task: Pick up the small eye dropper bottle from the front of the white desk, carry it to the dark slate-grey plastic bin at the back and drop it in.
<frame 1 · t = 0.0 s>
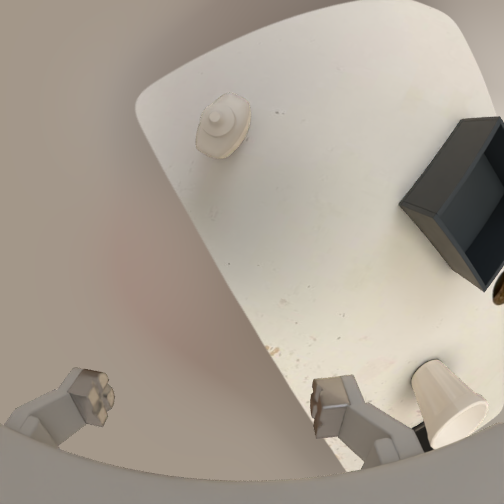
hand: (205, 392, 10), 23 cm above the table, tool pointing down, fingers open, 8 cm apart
bin: (461, 195, 30), on the table
cup: (426, 372, 39), on the table
eye dropper bottle: (229, 132, 29), on the table
phone: (428, 434, 45), on the table
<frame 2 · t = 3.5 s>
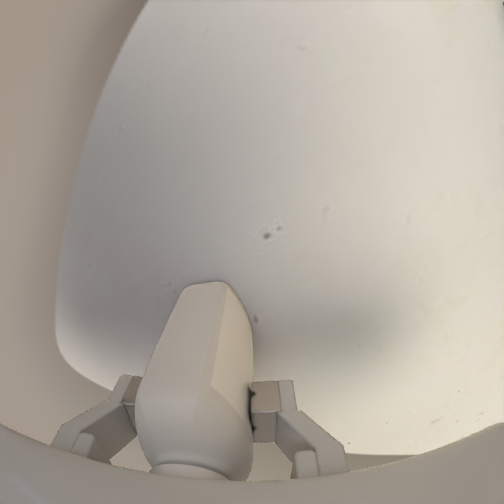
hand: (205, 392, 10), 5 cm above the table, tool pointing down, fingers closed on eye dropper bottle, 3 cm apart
eye dropper bottle: (218, 327, 15), on the table, touching gripper
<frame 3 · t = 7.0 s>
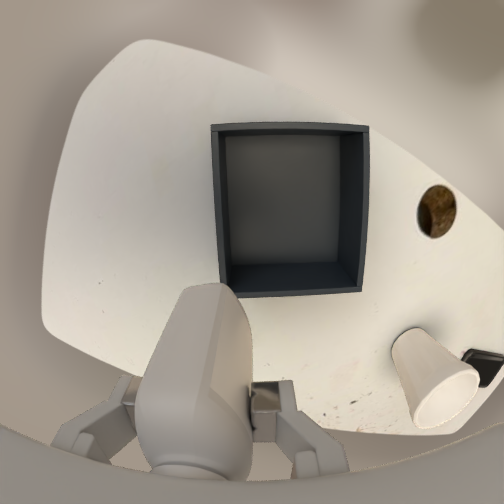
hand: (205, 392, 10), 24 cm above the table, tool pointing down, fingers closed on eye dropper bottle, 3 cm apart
bin: (284, 200, 32), on the table
cup: (408, 343, 38), on the table
eye dropper bottle: (217, 328, 15), point 19 cm above the table, touching gripper
phone: (477, 368, 41), on the table
when the fingers open (12 cm above the table, at t = 10.4 s): eye dropper bottle drops 7 cm, resting on bin.
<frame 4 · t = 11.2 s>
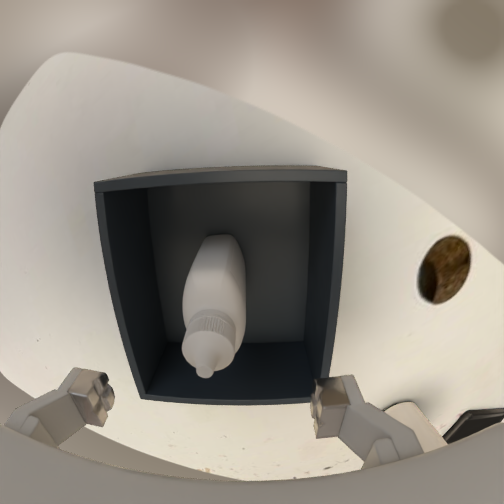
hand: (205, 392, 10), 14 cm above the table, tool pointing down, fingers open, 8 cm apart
bin: (230, 265, 23), on the table
cup: (394, 415, 30), on the table
eye dropper bottle: (223, 267, 23), resting on bin
phone: (474, 425, 33), on the table
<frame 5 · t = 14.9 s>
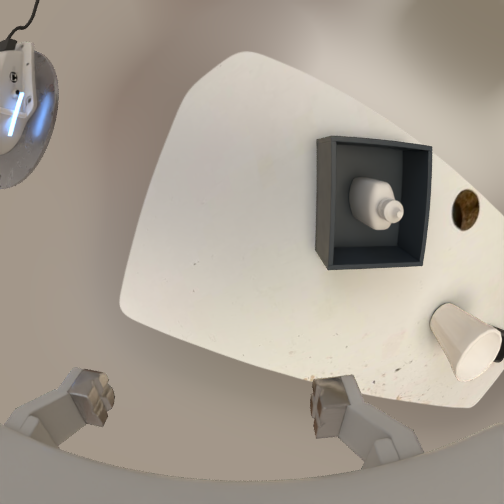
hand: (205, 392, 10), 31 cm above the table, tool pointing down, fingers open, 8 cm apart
bin: (362, 196, 39), on the table
cup: (442, 316, 45), on the table
eye dropper bottle: (359, 197, 38), resting on bin
phone: (492, 343, 48), on the table
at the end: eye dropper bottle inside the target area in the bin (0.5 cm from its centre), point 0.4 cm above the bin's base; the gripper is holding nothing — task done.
